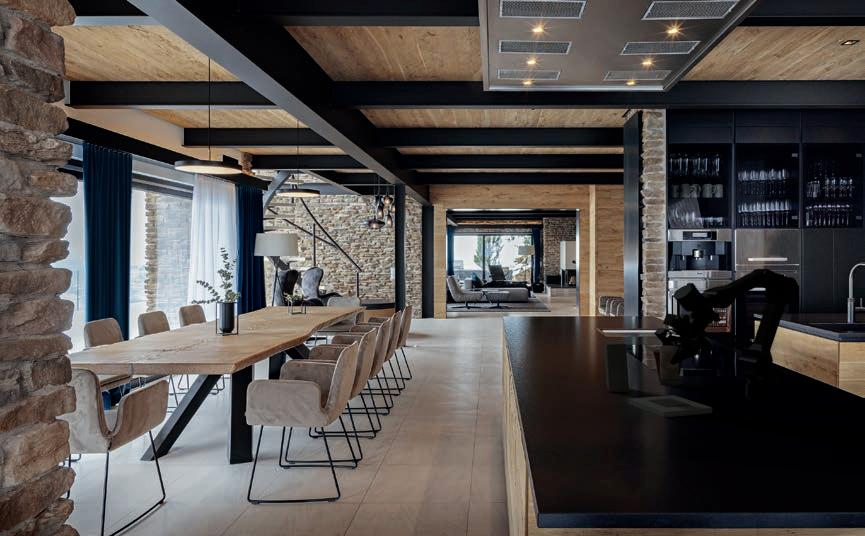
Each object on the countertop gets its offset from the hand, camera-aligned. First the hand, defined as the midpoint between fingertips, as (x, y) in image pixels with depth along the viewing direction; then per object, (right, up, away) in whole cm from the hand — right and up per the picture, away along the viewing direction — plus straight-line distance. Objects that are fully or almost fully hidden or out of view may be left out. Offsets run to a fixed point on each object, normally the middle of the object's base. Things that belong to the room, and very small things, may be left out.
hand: (665, 362), depth 169 cm
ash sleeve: (+1, -7, 0) cm, 7 cm away
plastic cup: (+15, -13, +34) cm, 39 cm away
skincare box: (-6, -13, +25) cm, 29 cm away
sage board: (+1, -13, +1) cm, 13 cm away
